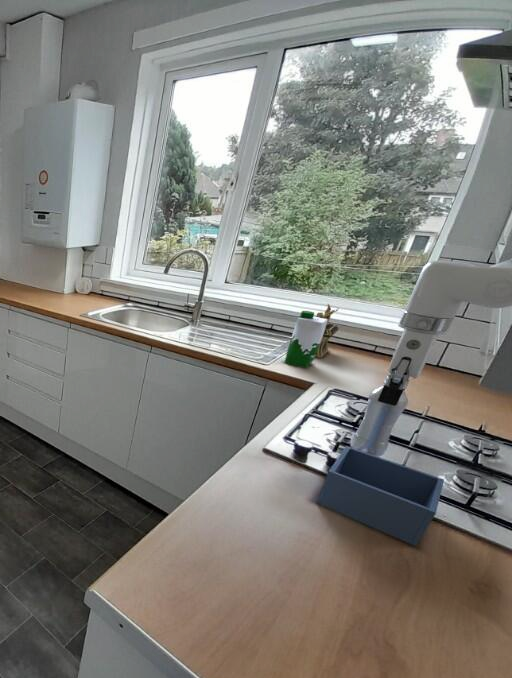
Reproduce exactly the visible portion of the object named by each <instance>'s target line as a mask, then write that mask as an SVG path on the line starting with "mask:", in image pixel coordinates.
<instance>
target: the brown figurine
mask: <svg viewBox="0 0 512 678" xmlns="http://www.w3.org/2000/svg"><path fill="white" fill-rule="evenodd" d="M339 309H340V307H338V308H337V309H336V310H335V309H332V308H331V305H330V304H329V303H327V307H326V309H325V310H324V313H323V312H322V311H321V312H320V311H319V312H317V313H316V316H315V317H319V318H323V319H328V320H327V324H326V327H325V331H324V334H323V337H322V340H321V342H320V345H319V348H318V351H317V353H316V355H315V357H314V358H323V356H324V355H326V354H327V352H328V351H329V348H328V343H329V341H330V339H331V338H332V337H333V336H334V335H335V334H336V333H337V332H338V331H339V329H340V327H338V325H336V324H335V323H330V319H331V317H332V315H333V314H334V313H336V312H338V311H339Z"/></svg>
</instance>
